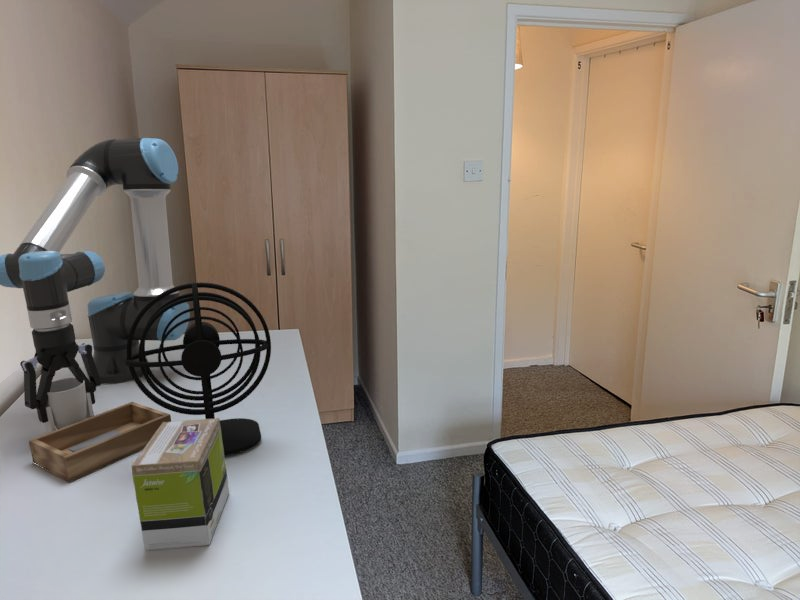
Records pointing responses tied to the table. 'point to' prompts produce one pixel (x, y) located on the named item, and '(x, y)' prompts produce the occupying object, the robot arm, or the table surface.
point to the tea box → (181, 484)
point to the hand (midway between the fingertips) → (71, 426)
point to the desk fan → (203, 362)
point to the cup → (67, 402)
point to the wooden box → (96, 441)
